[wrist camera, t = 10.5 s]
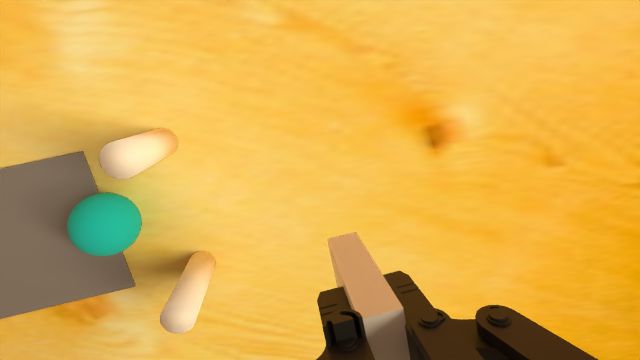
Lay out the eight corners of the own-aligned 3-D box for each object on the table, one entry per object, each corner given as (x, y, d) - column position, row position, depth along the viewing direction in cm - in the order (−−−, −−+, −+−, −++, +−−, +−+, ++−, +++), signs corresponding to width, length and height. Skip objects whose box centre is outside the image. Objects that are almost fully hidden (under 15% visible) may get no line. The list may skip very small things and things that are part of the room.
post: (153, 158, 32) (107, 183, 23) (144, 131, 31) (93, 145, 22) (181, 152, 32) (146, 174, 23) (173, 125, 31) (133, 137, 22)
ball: (154, 234, 34) (93, 249, 32) (138, 181, 32) (73, 195, 31) (141, 256, 28) (68, 275, 27) (121, 193, 27) (43, 210, 26)
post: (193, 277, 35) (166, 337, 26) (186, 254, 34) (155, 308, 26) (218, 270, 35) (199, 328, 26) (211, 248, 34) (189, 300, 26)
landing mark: (-9, 320, 33) (-11, 321, 33) (-81, 185, 30) (-84, 186, 30) (135, 285, 34) (134, 286, 34) (82, 151, 31) (81, 151, 31)
